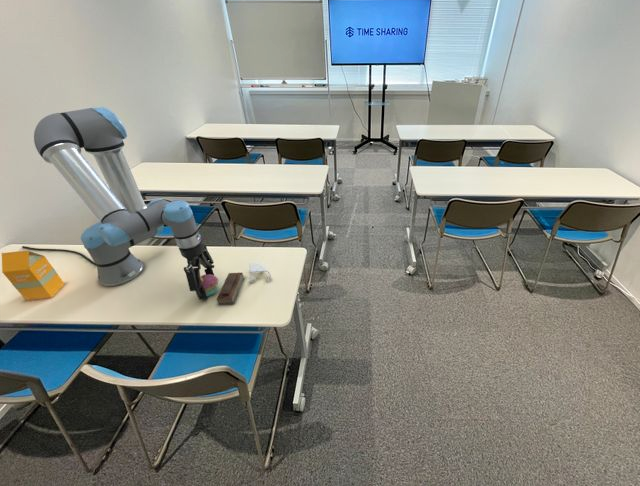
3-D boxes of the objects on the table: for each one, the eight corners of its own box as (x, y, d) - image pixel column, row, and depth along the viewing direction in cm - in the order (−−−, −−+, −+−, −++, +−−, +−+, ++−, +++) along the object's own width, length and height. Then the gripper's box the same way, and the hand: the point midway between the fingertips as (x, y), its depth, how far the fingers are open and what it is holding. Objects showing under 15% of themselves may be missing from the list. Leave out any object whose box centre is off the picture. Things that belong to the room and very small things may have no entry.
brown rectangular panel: (233, 304, 109) (231, 296, 107) (218, 304, 109) (215, 296, 107) (244, 278, 121) (241, 270, 119) (230, 278, 121) (228, 271, 119)
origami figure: (242, 283, 119) (239, 273, 116) (251, 269, 126) (249, 260, 123) (269, 286, 117) (267, 277, 114) (278, 272, 124) (276, 263, 121)
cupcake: (212, 301, 110) (202, 277, 104) (192, 298, 112) (182, 274, 106) (225, 285, 118) (217, 262, 111) (206, 282, 119) (197, 259, 113)
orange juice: (51, 297, 113) (19, 257, 103) (25, 300, 112) (-10, 260, 101) (65, 283, 120) (36, 244, 109) (40, 286, 118) (9, 246, 108)
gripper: (187, 262, 93) (207, 311, 105) (212, 226, 112) (227, 271, 123) (163, 263, 93) (186, 312, 105) (192, 227, 111) (208, 272, 123)
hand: (208, 290), depth 114 cm, fingers closed on cupcake, 9 cm apart
